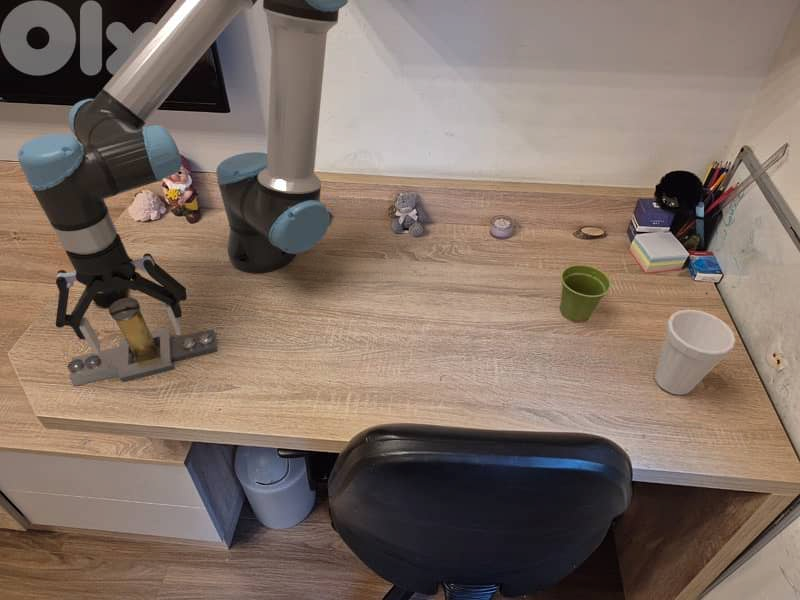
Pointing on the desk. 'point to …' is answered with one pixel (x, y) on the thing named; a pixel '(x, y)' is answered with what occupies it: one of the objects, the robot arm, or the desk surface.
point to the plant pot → (582, 291)
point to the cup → (691, 349)
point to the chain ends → (122, 361)
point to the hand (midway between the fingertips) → (139, 339)
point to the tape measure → (109, 297)
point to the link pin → (134, 329)
